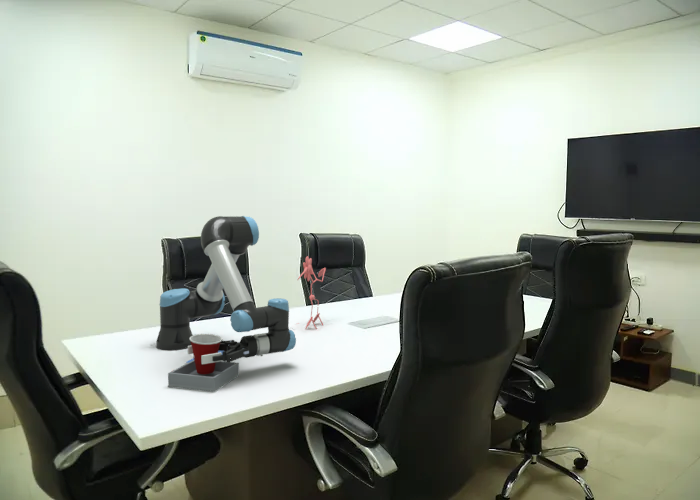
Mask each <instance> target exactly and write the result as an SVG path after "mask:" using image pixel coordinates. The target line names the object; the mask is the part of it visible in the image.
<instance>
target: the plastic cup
mask: <svg viewBox="0 0 700 500" xmlns="http://www.w3.org/2000/svg"><path fill="white" fill-rule="evenodd" d="M192 335H193V336H191V337H190V341H191V345H192V349H193V354H192V355H193V358H194V361H195V366H196V371H197V373H198V374H210V373H213V372H214V369H215V364H216V362H213V363H207V364H201V356H202V355H208V354H214V353H218V349H219V345H220V343H221V341H223V337H222V336H219V335H218V334H211V333H210V334H209V333H199V334H192Z"/></svg>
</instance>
